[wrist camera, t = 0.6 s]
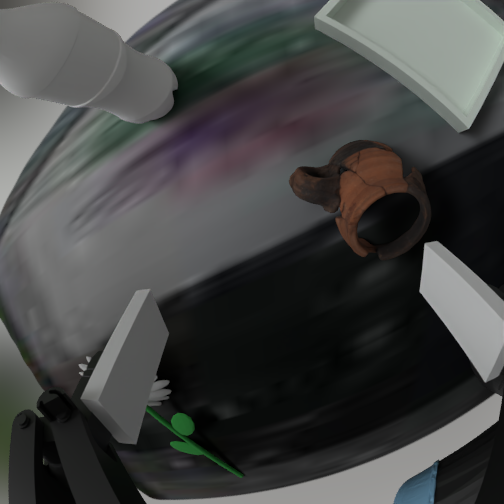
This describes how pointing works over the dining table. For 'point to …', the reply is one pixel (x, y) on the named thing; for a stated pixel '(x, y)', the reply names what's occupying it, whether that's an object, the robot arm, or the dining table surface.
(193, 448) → the decorative flower
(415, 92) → the tray
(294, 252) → the dining table surface
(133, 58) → the water bottle
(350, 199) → the broken clay pot
